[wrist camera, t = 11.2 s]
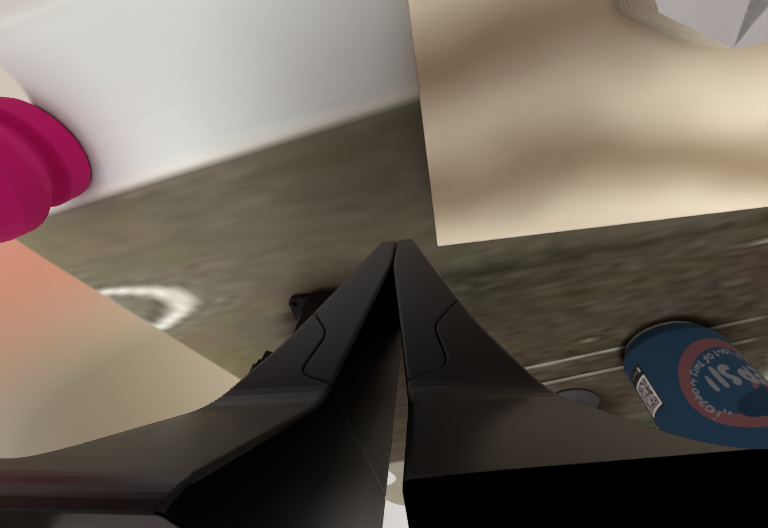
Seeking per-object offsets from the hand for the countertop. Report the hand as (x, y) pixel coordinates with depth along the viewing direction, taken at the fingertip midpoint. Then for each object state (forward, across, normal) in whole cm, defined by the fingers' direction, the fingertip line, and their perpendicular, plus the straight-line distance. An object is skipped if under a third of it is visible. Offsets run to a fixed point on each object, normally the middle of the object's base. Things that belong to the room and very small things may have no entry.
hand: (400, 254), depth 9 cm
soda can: (+12, -18, +20) cm, 29 cm away
